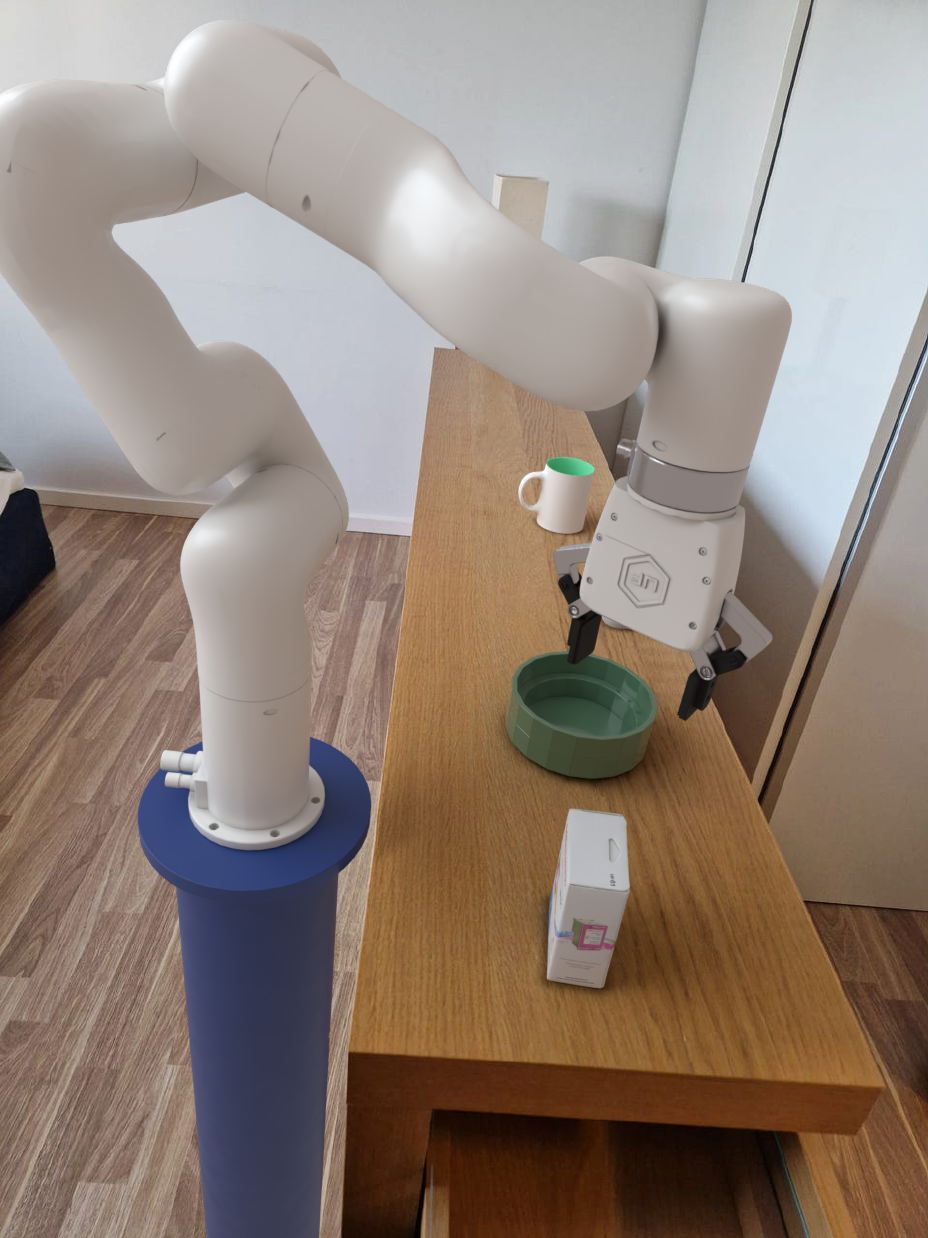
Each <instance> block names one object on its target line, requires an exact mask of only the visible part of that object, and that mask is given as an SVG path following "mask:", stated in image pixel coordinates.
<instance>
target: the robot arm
mask: <svg viewBox="0 0 928 1238" xmlns="http://www.w3.org/2000/svg"><path fill="white" fill-rule="evenodd" d="M245 193H247V194H249V195H251V196H252V197H253V198H255V199H257V200H259V201H261V202H262V203H264V204H265V205H267V206H269V207H270V208H271V209H274V210H276V211H277V212H279V213H280V214H282V215H284V216H285V217H286V218H289V219H291V220H292V221H294V222H295V223H297V224H299V225H300V226H302V227H303V228H306V229H307V230H308V231H310V232H311V233H312V234H315V235H316V236H318V237H320V238H322V239H323V240H325V241H327V242H328V243H329V244H331V245H333V246H334V247H336V248H338V249H339V250H341V251H343V252H344V253H346V254H347V255H349V256H351V257H352V258H354V259H355V260H357V261H359V262H360V263H362V264H363V265H365V266H367V268H369V269H371V270H372V271H374V273H375V274H376V275H378V277H380V278H381V280H382V281H383V282H384V283H385V285H386V286H387V287H388V288H389V289H390V291H391V292H392V293H394V294H395V295H396V296H397V297H398V298H399V299H400V300H401V301H402V302H403V303H404V304H406V305H407V306H408V307H409V308H410V309H411V310H412V311H413V312H414V313H416V315H418V316H419V317H420V318H421V320H423V321H424V322H425V323H426V324H427V325H428V326H429V327H430V328H432V330H434V331H435V332H436V333H437V334H439V335H440V336H441V337H442V338H443V339H445V340H446V341H447V342H449V343H450V344H451V345H453V346H454V347H456V348H457V349H459V351H461V352H463V353H464V354H466V355H467V356H469V357H470V358H472V359H473V360H475V361H477V362H478V363H480V364H482V365H483V366H485V367H486V368H487V369H490V370H492V371H493V372H495V373H497V374H498V375H500V376H502V377H503V378H505V379H506V380H508V381H510V382H511V383H513V384H515V385H517V386H518V387H521V389H523V390H525V391H526V392H528V393H530V394H532V395H534V396H535V397H537V398H539V399H541V400H542V401H545V402H547V403H550V404H552V405H554V406H557V407H560V408H564V409H567V410H572V411H579V412H594V411H597V412H598V411H603V410H606V409H608V408H609V409H610V408H611V407H614V406H616V405H618V404H620V403H621V402H624V401H626V399H628V398H629V397H630V396H631V395H632V394H634V393H635V392H636V391H637V390H638V389H639V388H640V386H641V385H642V384H643V383H644V381H646V384H647V393H646V398H645V402H644V406H643V410H642V415H641V419H640V425H639V429H638V432H637V438H635V439H632V440H630V439H628V438H621V439H620V441H619V442H618V444H617V447H616V449H615V454H616V457H618V458H621V459H623V460H624V462H627V463H628V466H627V469H626V475H625V476H623V477H620V478H618V479H617V480H615V483H614V484H613V487H612V489H611V490H610V493H609V495H608V498H607V500H606V502H605V504H604V507H603V510H602V512H601V515H600V517H599V520H598V523H597V525H596V528H595V531H594V534H593V537H592V540H591V542H585V543H575V544H569V545H568V544H567V545H563V546H561V547H559V548H558V549H555V550H554V551H553V553H552V558H553V563H554V567H555V571H556V574H557V576H558V577H559V579H558V580H557V585H558V588H559V590H560V592H561V594H562V596H563V597H564V599H565V601H566V603H567V604H568V605H567V608H566V612H567V614H568V616H570V617H571V622H570V627H569V631H568V636H567V641H566V646H568V647H569V649H568V651H569V653H568V658H567V662H568V663H570V664H572V665H574V664H578V663H579V662H580V661H582V660H583V659H585V658H586V657H587V656H589V655H590V654H593V653H594V652H595V649H596V644H597V640H598V635H599V631H600V626H601V623H602V616H603V617H605V618H607V619H609V620H612V621H614V622H616V623H618V624H620V625H622V626H624V627H627V628H629V629H628V630H631V631H633V632H636V633H638V634H640V635H641V636H644V637H647V638H649V639H650V640H653V641H655V642H657V643H659V644H662V645H664V646H666V647H668V648H671V649H673V650H676V651H680V652H685V653H689V655H690V657H691V660H692V662H693V664H694V666H695V669H694V670H692V671H691V672H690V673H689V675H688V677H687V680H686V683H685V686H684V689H683V693H682V697H681V700H680V703H679V707H678V710H677V713H676V715H677V716H678V719H680V720H682V721H684V722H686V721H687V720H689V718H691V716H693V714H694V713H696V711H697V710H698V711H700V712H703V711H705V709H706V708H707V707H708V706H709V704H710V702H711V700H712V697H713V694H714V691H715V687H716V684H717V681H718V678H719V676H721V675H724V674H726V673H730V672H733V671H736V670H739V669H741V668H742V667H743V666H744V665H746V664H747V663H748V662H749V661H751V660H752V659H753V658H755V657H756V656H757V655H759V654H760V653H761V652H762V651H763V650H765V649H766V648H767V647H768V645H770V644H771V642H772V641H773V637H774V636H773V635H772V632H770V631H769V629H767V627H765V625H764V624H763V623H762V622H761V621H760V620H759V619H758V618H757V617H756V616H755V615H754V614H753V613H752V611H750V610H749V609H748V608H747V607H746V605H745V604H744V603H742V601H741V600H740V599H739V598H738V597H737V596H736V595H735V591H736V587H737V582H738V578H739V577H738V576H739V572H740V566H741V561H742V555H743V546H744V538H745V526H746V509H745V507H743V506H741V505H740V504H739V503H740V501H741V497H742V494H743V491H744V487H745V483H746V480H747V477H748V473H749V470H750V466H751V462H752V460H753V457H754V452H755V450H756V446H757V443H758V439H759V438H760V437H759V436H760V433H761V429H762V426H763V422H764V419H765V417H766V413H767V409H768V406H769V403H770V400H771V396H772V393H773V389H774V386H775V382H776V380H777V375H778V372H779V369H780V365H781V363H782V359H783V355H784V352H785V348H786V345H787V341H788V339H789V334H790V330H791V328H792V327H791V326H792V321H793V313H792V311H793V310H792V308H791V305H790V303H789V301H788V300H787V298H786V297H785V296H784V295H781V294H780V293H778V292H777V291H775V290H773V289H770V288H767V287H763V286H760V285H756V284H752V283H748V282H743V281H737V280H730V279H724V278H723V279H722V278H721V279H720V278H706V277H705V278H691V277H686V276H683V275H680V274H676V273H672V272H668V271H665V270H662V269H659V268H655V267H652V266H649V265H647V264H643V263H639V262H637V261H634V260H630V259H626V258H622V257H617V256H609V255H607V256H603V255H602V256H596V257H590V258H587V259H584V260H582V261H579V262H578V261H576V260H574V259H573V258H571V257H569V256H568V255H567V254H565V253H563V252H561V251H559V250H558V249H556V248H555V247H553V246H551V245H550V244H548V243H547V242H545V241H543V240H542V239H540V238H539V237H537V236H536V235H534V234H533V233H531V232H529V231H528V230H527V229H525V228H524V227H522V226H521V225H519V224H518V223H516V222H515V221H513V219H511V218H510V217H508V216H507V214H504V213H503V212H502V211H500V209H498V208H497V207H496V206H494V204H492V203H491V202H490V201H489V200H487V199H486V197H484V196H483V195H482V194H481V193H480V192H479V191H478V190H477V188H475V186H474V185H473V184H472V183H471V181H470V180H469V179H468V177H467V176H466V174H465V173H464V171H463V170H462V167H461V166H460V164H459V162H458V160H457V159H456V157H455V155H454V154H453V153H452V151H451V150H450V149H449V148H448V147H447V145H445V143H444V142H443V141H441V140H440V138H438V137H437V136H435V135H434V134H433V133H431V132H430V131H428V130H427V129H425V128H423V127H422V126H420V125H418V124H417V123H415V122H413V121H412V120H410V119H408V118H407V117H405V116H403V115H401V114H400V113H398V112H397V111H395V109H393V108H390V107H388V106H387V105H385V104H384V103H382V102H380V101H378V100H377V99H375V98H374V97H372V96H370V95H369V94H367V93H366V92H364V91H363V90H361V89H359V88H358V87H356V86H355V85H353V84H352V83H350V82H348V81H347V80H345V79H343V78H342V75H341V74H340V71H339V70H338V68H337V67H336V66H335V63H334V62H333V61H332V59H331V58H330V57H329V56H328V55H327V53H325V52H324V50H322V48H320V47H319V46H318V45H317V44H315V42H313V41H312V40H310V39H308V38H307V37H305V36H303V35H301V34H299V33H296V32H293V31H290V30H287V29H282V28H278V27H275V26H274V27H273V26H267V25H263V24H260V23H254V22H251V21H246V20H240V19H218V20H213V21H210V22H207V23H203V24H202V25H200V26H198V27H196V28H195V29H193V30H191V31H190V32H189V33H188V34H187V35H186V36H185V37H183V38H182V40H181V41H180V42H179V44H177V46H176V47H175V49H174V51H173V52H172V55H171V57H170V58H169V61H168V64H167V67H166V70H165V75H164V76H162V77H159V78H156V79H153V80H150V81H147V82H142V83H127V82H110V81H109V82H108V81H107V82H106V81H98V80H97V81H96V80H86V79H68V78H67V79H66V78H65V79H64V78H62V79H59V78H58V79H57V78H55V79H54V78H53V79H41V80H35V81H31V82H26V83H21V84H19V85H16V86H14V87H11V88H8V89H7V90H4V91H2V92H1V93H0V274H1V276H2V278H3V279H4V280H5V281H6V283H7V284H8V285H9V288H11V290H12V291H13V292H14V294H15V295H16V296H17V298H18V299H20V301H21V302H22V303H23V305H24V306H25V307H26V308H27V311H28V312H29V313H30V314H31V315H32V316H33V317H34V319H35V320H36V322H37V323H38V325H40V327H41V329H43V331H44V332H45V334H46V335H47V336H48V338H49V339H50V340H51V342H52V344H53V345H54V346H55V348H56V350H57V351H58V352H59V354H60V356H61V357H62V359H63V360H64V362H65V365H66V366H67V367H68V370H69V371H70V372H71V374H72V376H73V377H74V379H75V380H76V382H77V384H78V385H79V386H80V389H81V390H82V391H83V393H84V394H85V396H86V398H87V399H88V400H89V402H90V404H91V405H92V407H93V408H94V410H95V412H96V413H97V414H98V416H99V418H100V419H101V420H102V422H103V423H104V425H105V427H106V429H107V430H108V431H109V433H110V435H111V436H112V437H113V439H114V440H115V443H117V445H118V447H119V448H120V450H121V451H122V453H123V454H124V456H125V457H126V459H127V461H129V463H130V465H131V466H132V467H133V469H134V470H135V471H136V473H137V474H138V475H139V476H140V478H141V479H143V481H144V482H146V483H147V484H148V485H149V486H150V487H152V488H153V489H154V490H156V491H159V492H161V493H164V494H167V495H169V496H177V497H180V496H188V495H192V494H196V493H199V492H201V491H203V490H206V489H207V488H209V487H211V486H212V485H214V484H215V483H217V482H219V481H220V480H222V479H223V478H224V477H226V479H227V480H228V482H229V484H230V485H231V486H232V489H231V490H230V491H229V492H228V493H227V494H225V495H224V496H223V497H221V499H219V500H218V501H217V502H216V503H214V504H213V505H212V506H211V507H209V509H208V510H207V511H205V512H204V513H203V514H202V515H201V516H200V517H199V518H198V520H197V521H196V522H195V524H194V525H193V527H192V528H191V530H190V531H189V533H188V535H187V536H186V539H185V541H184V543H183V546H182V550H181V554H180V562H179V565H180V566H179V567H180V576H181V583H182V586H183V589H184V593H185V596H186V601H187V604H188V606H189V611H190V614H191V619H192V623H193V629H194V637H195V638H194V639H195V646H196V647H195V648H196V665H197V676H198V686H199V703H200V722H201V738H202V739H201V740H202V741H203V751H198V752H197V754H196V755H195V754H187V753H184V752H182V751H179V750H169V749H165V750H163V751H162V753H161V756H160V761H159V767H160V768H161V770H165V771H174V772H181V771H184V772H192V773H193V774H192V775H184V774H181V773H173V772H168V773H167V775H166V778H165V786H166V787H174V788H189V789H190V793H189V797H188V805H189V813H190V818H191V820H192V822H193V824H194V826H195V827H196V828H197V829H198V831H199V832H200V833H201V834H202V835H204V836H205V837H206V838H208V839H209V840H211V841H213V842H215V843H217V844H219V845H222V846H225V847H229V848H233V849H240V850H263V849H269V848H275V847H278V846H281V845H284V844H287V843H289V842H291V841H294V840H296V839H298V838H299V837H301V836H302V835H304V834H305V833H306V832H308V831H309V830H310V829H311V828H312V827H313V826H314V825H315V824H316V822H317V821H318V819H319V818H320V816H321V814H322V811H323V808H324V801H325V791H324V785H323V782H322V780H321V778H320V776H319V775H318V773H317V772H316V771H315V770H314V769H313V768H312V767H311V766H310V765H309V755H310V737H311V711H312V676H313V675H312V674H313V673H312V670H313V669H312V668H313V667H312V662H313V660H312V659H313V658H312V657H313V654H312V653H313V645H312V635H311V629H310V625H309V622H308V620H307V619H308V618H307V615H306V610H305V597H306V593H307V590H308V587H309V584H310V583H311V582H312V580H313V579H314V577H316V575H317V574H318V572H319V571H320V570H321V568H322V566H323V565H324V564H325V562H326V561H327V560H328V559H329V558H330V557H331V556H332V554H333V553H334V551H335V550H336V549H337V548H338V546H339V545H340V544H341V542H342V540H343V538H344V536H345V534H346V532H347V529H348V526H349V521H350V520H349V519H350V511H349V510H350V509H349V502H348V498H347V495H346V492H345V489H344V487H343V484H342V482H341V480H340V478H339V476H338V474H337V472H336V470H335V468H334V466H333V464H332V462H331V461H330V459H329V457H328V455H327V453H326V452H325V450H324V449H323V447H322V444H321V443H320V441H319V439H318V437H317V435H316V434H315V432H314V431H313V428H312V426H311V424H310V423H309V421H308V419H307V418H306V416H305V413H304V412H303V410H302V409H301V407H300V405H299V403H298V400H297V399H296V397H295V395H294V394H293V393H292V391H291V389H290V387H289V386H288V384H287V383H286V380H285V379H284V378H283V376H282V375H281V374H280V373H279V371H278V370H277V369H276V368H275V367H274V366H273V365H272V364H271V363H270V361H268V359H266V358H265V357H264V356H262V354H260V353H259V352H257V351H256V350H254V349H253V348H250V347H248V346H246V345H244V344H242V343H239V342H236V341H231V340H220V339H219V340H212V341H211V340H210V341H206V342H201V343H200V344H198V345H197V344H195V342H194V341H193V340H192V338H191V336H190V335H189V334H188V332H187V330H186V329H185V327H184V326H183V325H182V323H181V321H180V319H179V318H178V316H177V314H176V312H175V310H174V309H173V307H172V306H173V305H172V304H171V303H170V301H169V299H168V298H167V296H166V295H165V293H164V292H163V290H162V289H161V287H160V286H159V285H158V284H157V282H156V281H155V280H154V278H152V276H151V275H150V274H149V273H148V272H147V271H146V270H145V269H144V268H143V267H142V266H141V265H140V264H139V263H138V262H137V261H136V260H135V259H133V258H132V257H131V256H130V255H129V254H128V252H127V253H126V251H124V250H123V248H121V246H120V245H119V244H118V242H117V241H116V240H115V239H114V236H113V229H114V228H115V227H114V226H115V225H122V224H130V223H135V222H139V221H144V220H145V221H146V220H150V219H155V218H162V217H166V216H171V215H175V214H179V213H183V212H186V211H189V210H192V209H196V208H199V207H203V206H205V205H208V204H211V203H215V202H218V201H221V200H225V199H228V198H232V197H235V196H238V195H241V194H245ZM578 564H584V568H583V570H582V571H583V572H582V574H581V573H580V572H579V571H578V570H579V566H578ZM725 624H727V625H729V627H730V628H731V629H732V630H733V631H734V632H735V633H736V634H737V635H738V636H739V638H740V640H741V642H740V644H738V645H735V646H732V647H730V648H726V646H725V644H724V642H723V641H724V640H723V639H722V637H721V634H720V631H721V630H722V629H723V627H724V626H725ZM202 741H201V742H202ZM160 768H159V769H160Z"/></svg>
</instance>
